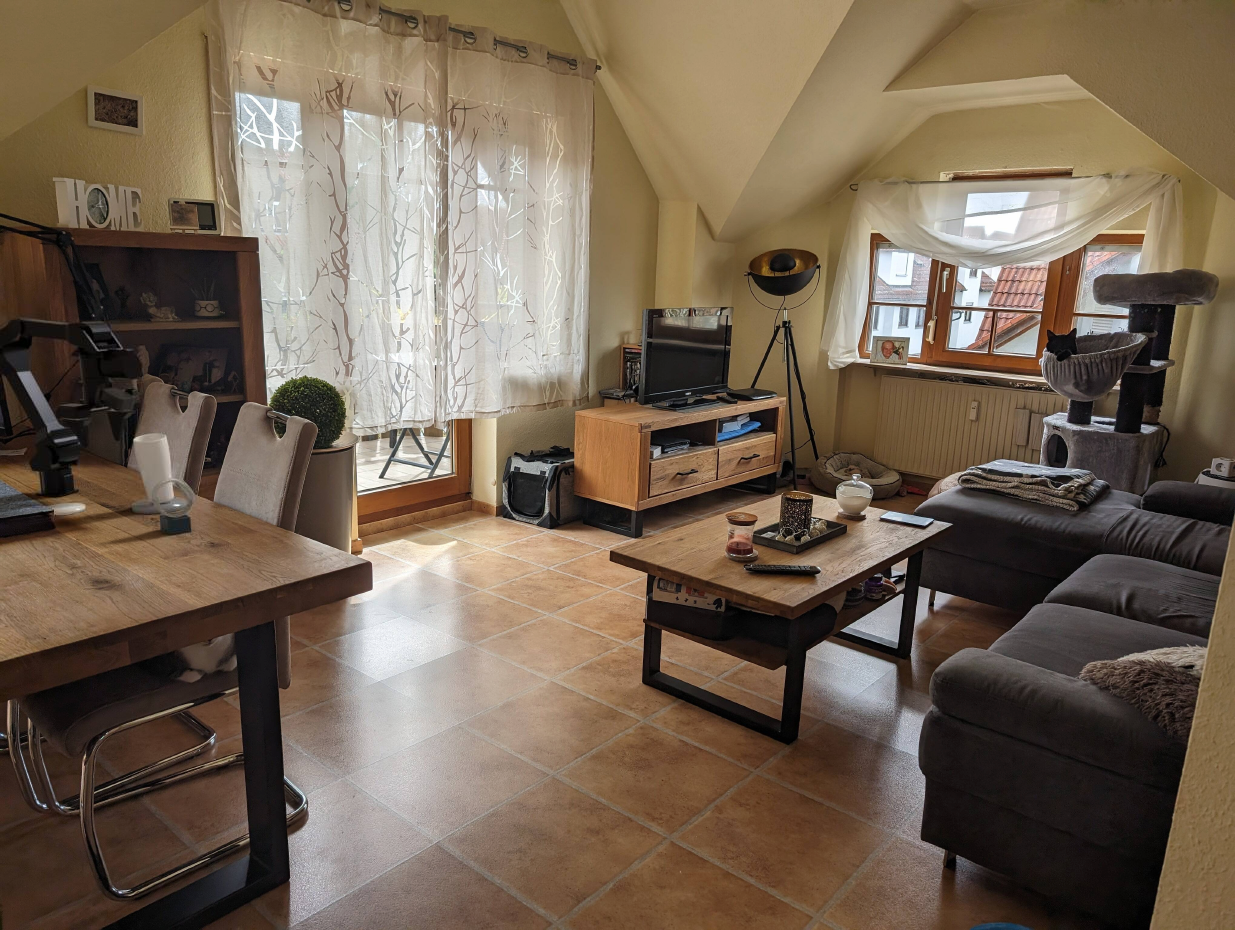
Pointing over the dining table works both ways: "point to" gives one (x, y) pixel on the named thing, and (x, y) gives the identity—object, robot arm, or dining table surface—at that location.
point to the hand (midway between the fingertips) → (102, 444)
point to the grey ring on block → (179, 520)
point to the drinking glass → (154, 464)
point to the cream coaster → (67, 508)
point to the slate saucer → (170, 506)
